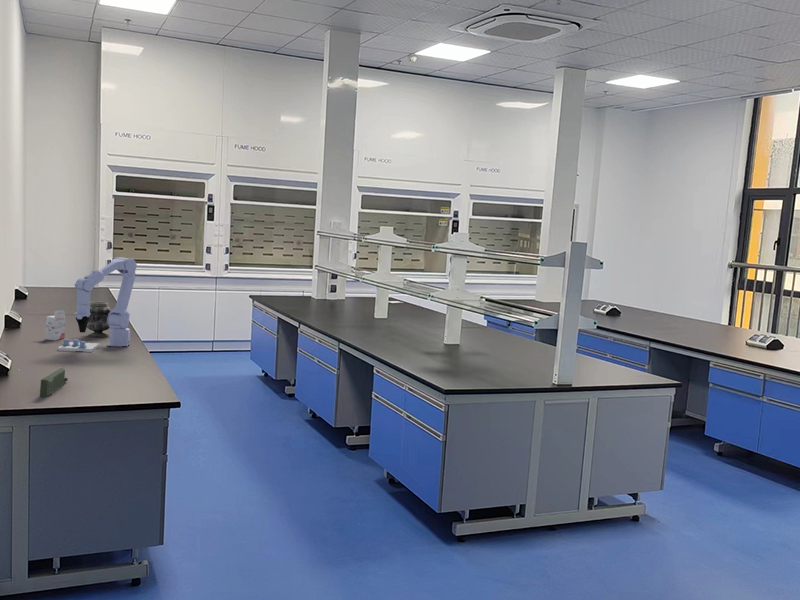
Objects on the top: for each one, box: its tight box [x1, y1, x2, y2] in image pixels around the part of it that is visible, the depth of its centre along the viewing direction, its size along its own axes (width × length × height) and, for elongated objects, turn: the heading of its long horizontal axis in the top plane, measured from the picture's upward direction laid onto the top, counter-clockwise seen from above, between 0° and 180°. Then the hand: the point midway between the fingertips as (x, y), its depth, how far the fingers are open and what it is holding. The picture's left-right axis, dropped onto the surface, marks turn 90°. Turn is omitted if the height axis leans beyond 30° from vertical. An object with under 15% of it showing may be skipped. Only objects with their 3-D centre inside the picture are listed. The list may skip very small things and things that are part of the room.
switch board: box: [57, 341, 101, 353], centre depth 347 cm, size 15×16×2 cm
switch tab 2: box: [72, 338, 80, 346], centre depth 346 cm, size 3×3×3 cm
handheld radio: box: [39, 367, 69, 398], centre depth 267 cm, size 7×3×25 cm
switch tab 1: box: [61, 338, 71, 346], centre depth 345 cm, size 3×3×3 cm
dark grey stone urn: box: [86, 301, 112, 338], centre depth 385 cm, size 12×12×18 cm
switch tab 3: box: [78, 340, 87, 348], centre depth 342 cm, size 3×3×3 cm
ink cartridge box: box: [45, 309, 66, 341], centre depth 367 cm, size 9×5×15 cm, turn 168°
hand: (82, 332), depth 344 cm, fingers closed
